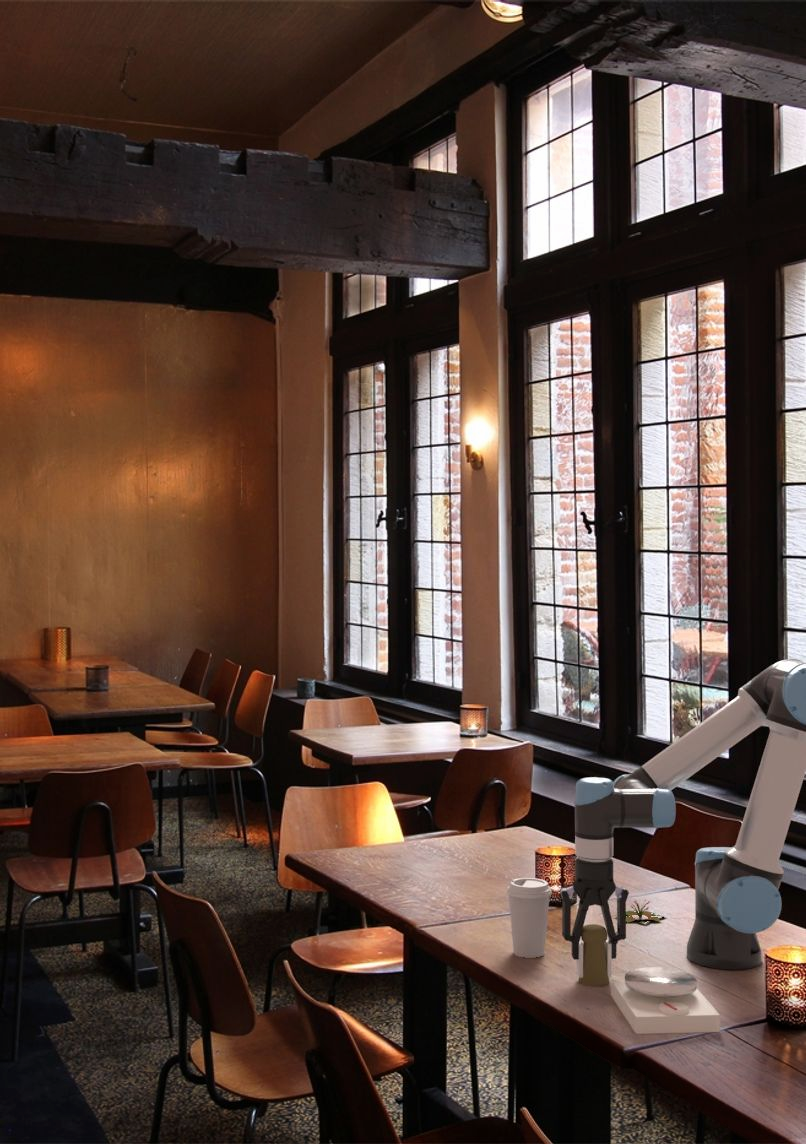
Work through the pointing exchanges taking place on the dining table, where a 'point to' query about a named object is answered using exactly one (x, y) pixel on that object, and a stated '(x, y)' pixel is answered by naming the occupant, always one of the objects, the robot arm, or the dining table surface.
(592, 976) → the cork
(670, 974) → the pan
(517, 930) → the coffee cup
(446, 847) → the dining table surface
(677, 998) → the scale base
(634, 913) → the lily flower
